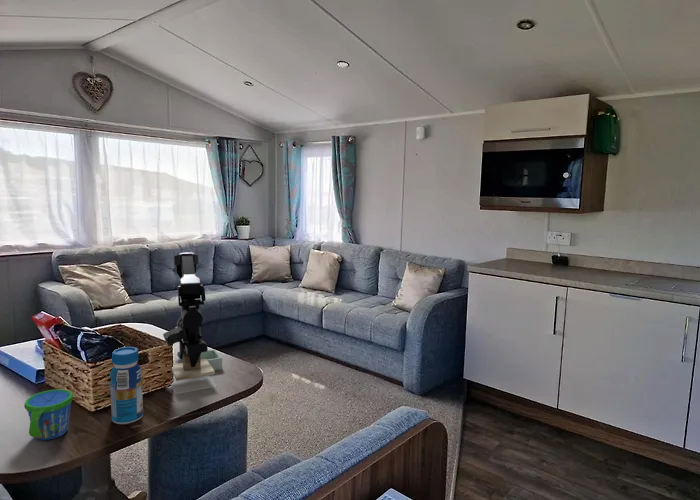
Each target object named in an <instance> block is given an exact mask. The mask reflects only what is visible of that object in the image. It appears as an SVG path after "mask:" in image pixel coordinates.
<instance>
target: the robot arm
mask: <svg viewBox="0 0 700 500" xmlns="http://www.w3.org/2000/svg"><path fill="white" fill-rule="evenodd" d="M198 267H199V255H198V254H195V253H194V252H190V251H189V252H181V253H179V254H177V255H176V254H175V255H174V256H173V268H175V271H176V274H177V275H178V277H179V285H178V286H177V301H178V307H180V308H181V309H180V310H181V312H180V316H179V317H178V319H177V320H176V324H177V325H176V326H175V328H173V329H170V330H168V331H165V332H164V333H163V334H162V336H163V338H164V340H165V342H166V345H167V346H168V347H170V346H171V347H172V346H173V345H174V344H176V343H177V344H179V351H178V352H177V353H176V354H177V356H178V358H179V359H181V360H183V354H189V359H190V364H191V367H195V365H196V363H197V361H198V359H199V357H200V355H201V353H202V352H207V351H208V350H209V349H208V348H209V347H208V344H207V343H206V341H204V340H203V334H201V327H202V325H203V324H202V323H203V315H202V311H201V306H202V305H205V302H206V292H205V291H206V289H205V287H204V285H203V284H201V279H200V277H197V276H196V273H197V268H198Z"/></svg>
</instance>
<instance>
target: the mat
mask: <svg viewBox="0 0 700 500" xmlns="http://www.w3.org/2000/svg"><path fill="white" fill-rule="evenodd" d="M173 378H174V382H173V383H172V384H170V386H171V387H172V390H173V393H174V395H180V394H186V393H191V392H196V391H200V390H206V389H212V388H216V387H218V386H217V384H216V383H215V381H214V380H213V378H212V377H211V375H207V376H201V377H195V378H190V379H184V380H179V381H176V379H175V377H173Z"/></svg>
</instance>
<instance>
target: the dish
mask: <svg viewBox="0 0 700 500" xmlns="http://www.w3.org/2000/svg"><path fill="white" fill-rule="evenodd" d="M200 356H201V360H202V359H206V360H207V361H208V362H209V364H210V365H211V366H212V368H213V369H214V371H221V370H223V357H222V356H221V354H220V353H219V351H217V350H216V349H208V351H207V352H202V353H201V355H200Z"/></svg>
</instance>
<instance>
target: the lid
mask: <svg viewBox="0 0 700 500" xmlns="http://www.w3.org/2000/svg"><path fill="white" fill-rule="evenodd" d="M172 364H173V367H172V371H171V373H172V375H173V378H175V379H176V381H179V380H184V379H190V378H195V377H201V376H207V375H209V376H211V375H215V374H216V370H214V369H213V368H212V366H211V365H210V364H209V362H208V361H207V360H206V359H202V360H201V356H200V357H199V359H198V361H197V363H196V365H195V367H191V364H190V359H189V354H183V359H182V362H178V363H172Z"/></svg>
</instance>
